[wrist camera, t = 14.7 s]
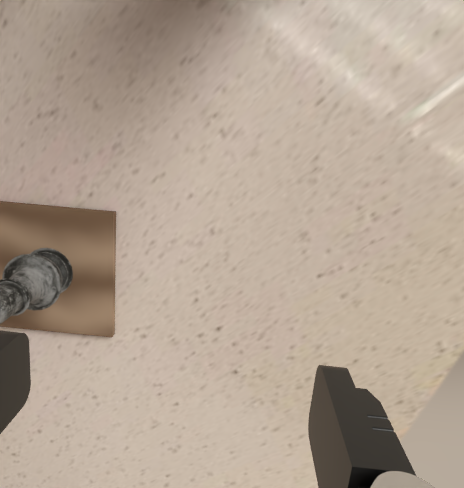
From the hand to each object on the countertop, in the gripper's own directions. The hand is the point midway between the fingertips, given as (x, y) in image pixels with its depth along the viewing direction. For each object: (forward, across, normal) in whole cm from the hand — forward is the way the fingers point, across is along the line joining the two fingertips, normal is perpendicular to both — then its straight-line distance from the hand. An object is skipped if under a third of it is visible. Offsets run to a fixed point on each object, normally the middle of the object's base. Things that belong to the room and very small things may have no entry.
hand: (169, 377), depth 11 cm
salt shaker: (+31, +18, +9) cm, 37 cm away
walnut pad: (+32, +18, +9) cm, 38 cm away
